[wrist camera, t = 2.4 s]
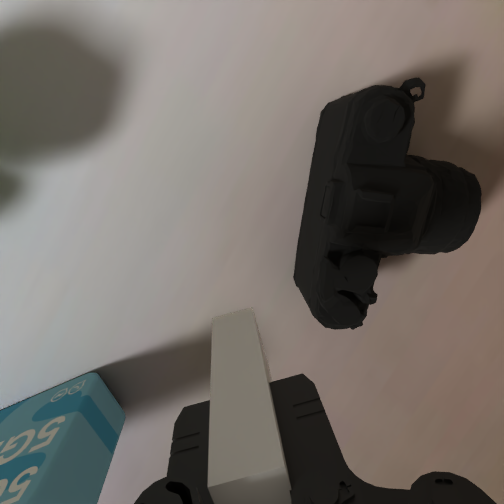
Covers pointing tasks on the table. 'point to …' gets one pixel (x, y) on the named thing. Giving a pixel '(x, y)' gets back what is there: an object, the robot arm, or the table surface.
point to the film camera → (374, 202)
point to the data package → (59, 444)
